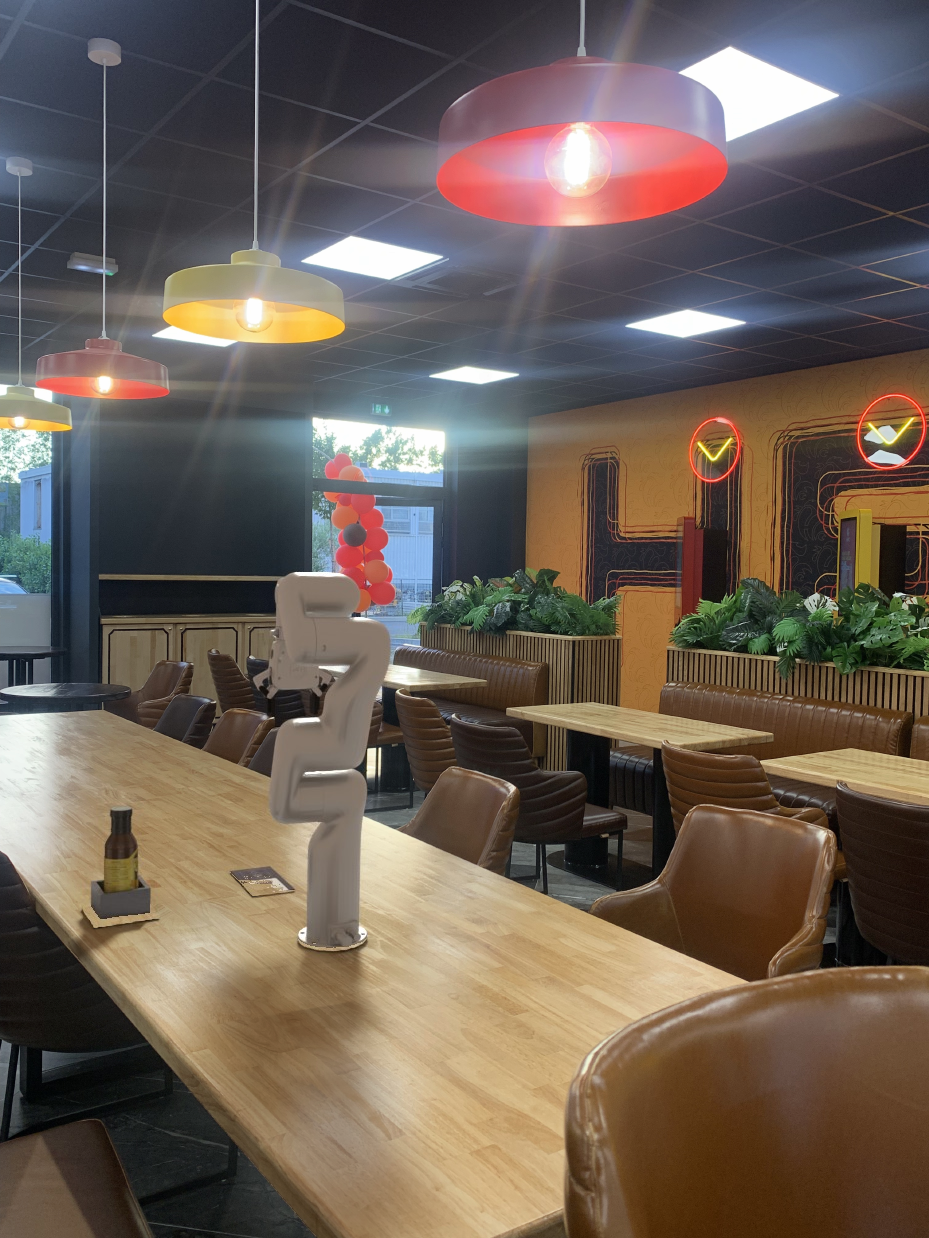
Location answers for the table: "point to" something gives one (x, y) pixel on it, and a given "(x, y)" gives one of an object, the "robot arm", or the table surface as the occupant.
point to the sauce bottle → (120, 853)
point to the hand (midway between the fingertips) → (292, 715)
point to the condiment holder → (120, 900)
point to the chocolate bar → (261, 873)
